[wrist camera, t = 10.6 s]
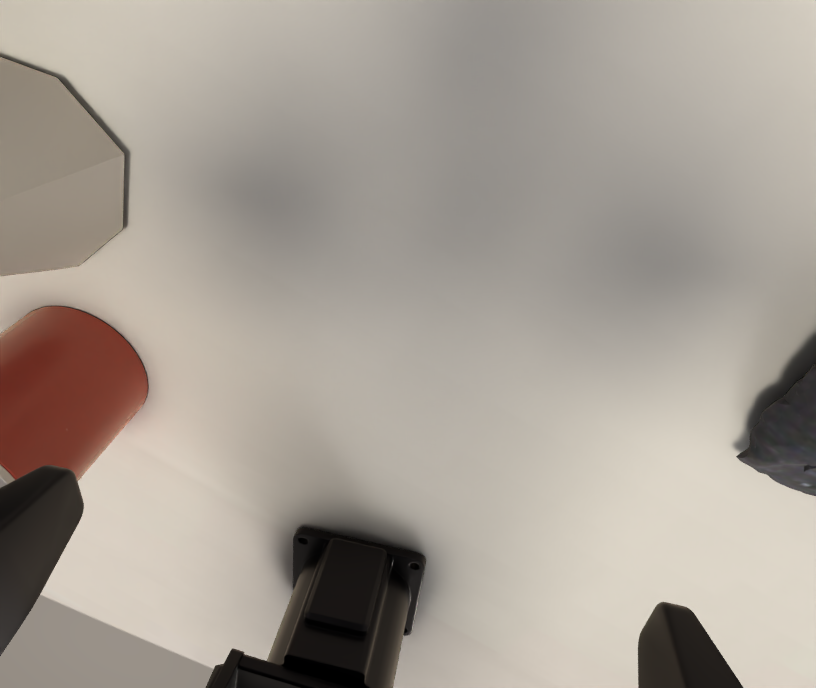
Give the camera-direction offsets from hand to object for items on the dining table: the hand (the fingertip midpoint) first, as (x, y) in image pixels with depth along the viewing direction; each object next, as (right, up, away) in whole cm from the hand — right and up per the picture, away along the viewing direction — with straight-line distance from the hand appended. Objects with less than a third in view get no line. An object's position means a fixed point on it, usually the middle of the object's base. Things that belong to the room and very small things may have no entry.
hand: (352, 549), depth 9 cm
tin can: (-13, +2, +17) cm, 22 cm away
